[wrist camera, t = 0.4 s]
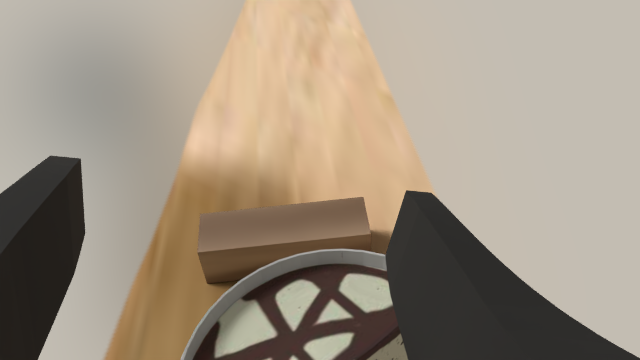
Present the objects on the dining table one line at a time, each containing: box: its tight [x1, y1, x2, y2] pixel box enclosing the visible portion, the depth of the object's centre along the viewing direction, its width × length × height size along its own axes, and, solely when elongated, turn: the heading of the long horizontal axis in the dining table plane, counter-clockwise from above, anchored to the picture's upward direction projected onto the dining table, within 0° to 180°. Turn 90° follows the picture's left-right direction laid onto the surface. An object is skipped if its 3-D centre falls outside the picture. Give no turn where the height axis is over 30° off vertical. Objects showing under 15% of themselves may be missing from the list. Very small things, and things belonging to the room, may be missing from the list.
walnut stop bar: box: [198, 197, 371, 283], centre depth 36 cm, size 3×10×3 cm, turn 95°
